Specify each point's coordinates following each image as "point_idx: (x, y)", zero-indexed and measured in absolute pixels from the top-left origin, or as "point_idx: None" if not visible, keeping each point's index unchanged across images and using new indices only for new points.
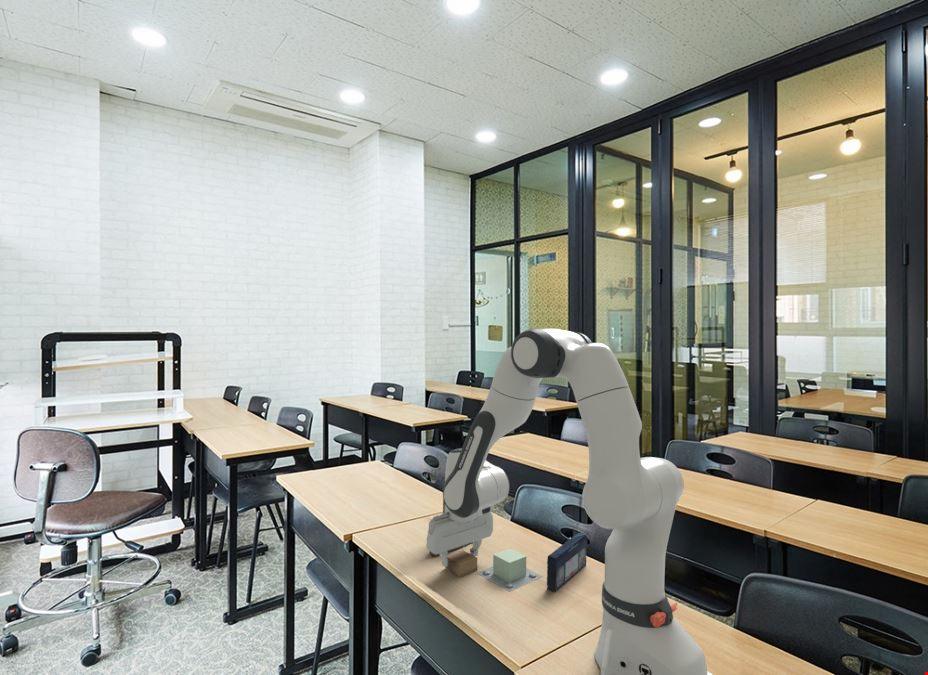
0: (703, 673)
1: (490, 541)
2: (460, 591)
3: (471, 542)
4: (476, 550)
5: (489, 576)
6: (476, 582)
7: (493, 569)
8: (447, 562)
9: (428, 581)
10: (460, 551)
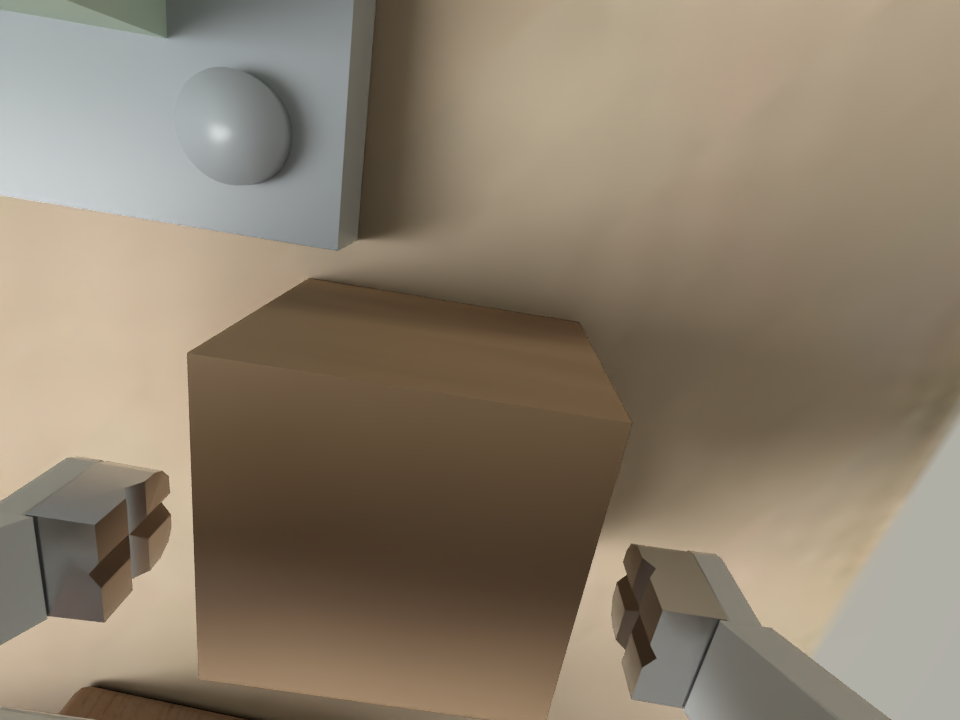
0: None
1: None
2: (732, 184)
3: (23, 714)
4: (33, 514)
5: (273, 24)
6: (428, 180)
7: (119, 14)
8: (717, 594)
9: (744, 562)
10: (262, 673)
